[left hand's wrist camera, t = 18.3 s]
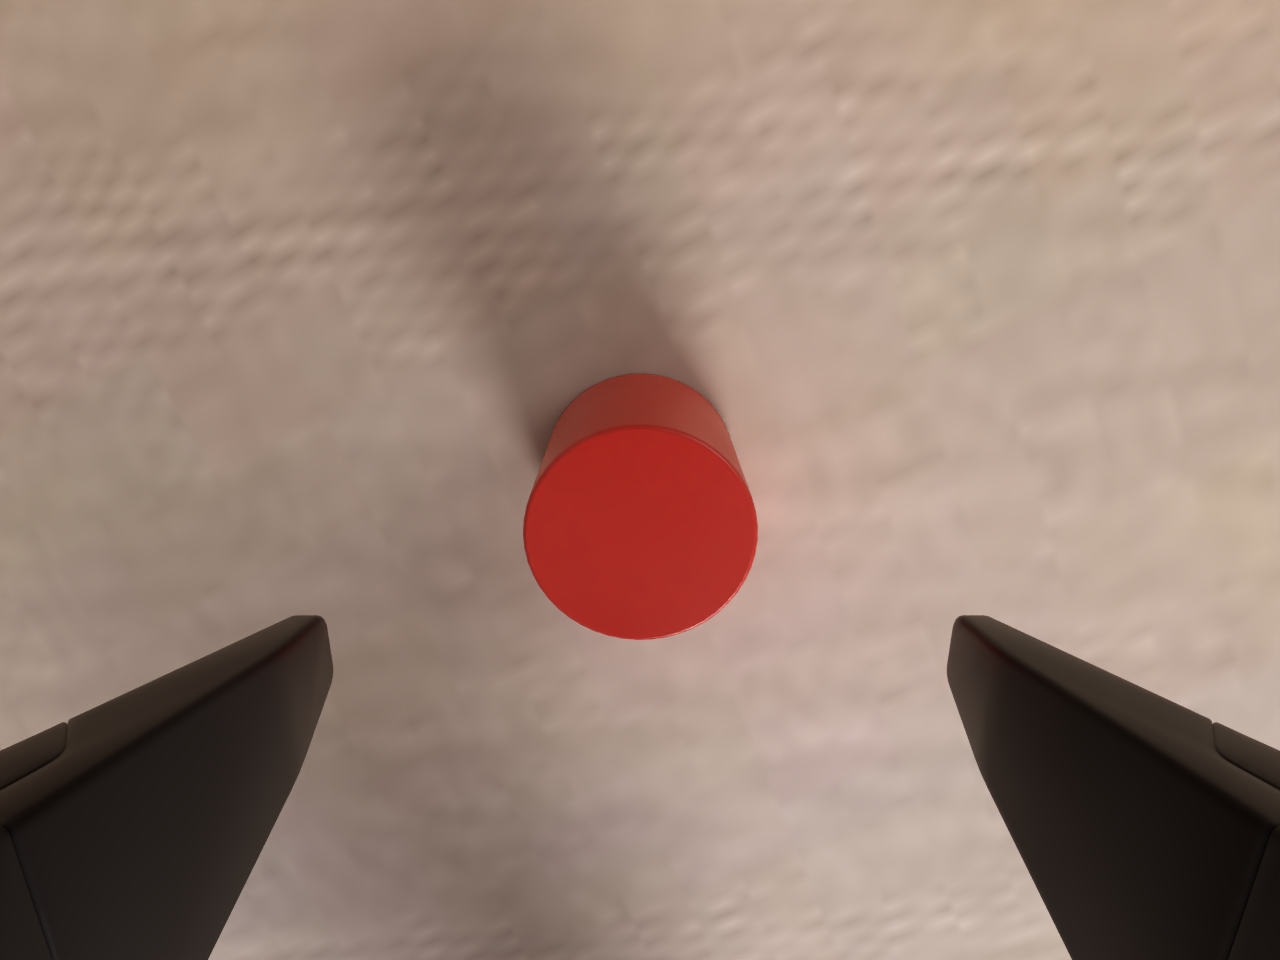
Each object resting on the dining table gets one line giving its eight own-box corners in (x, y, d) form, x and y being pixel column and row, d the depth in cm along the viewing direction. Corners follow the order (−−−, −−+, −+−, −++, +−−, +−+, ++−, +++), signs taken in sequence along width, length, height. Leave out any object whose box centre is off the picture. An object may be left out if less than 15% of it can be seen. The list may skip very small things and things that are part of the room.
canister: (749, 527, 20) (777, 615, 16) (574, 564, 20) (558, 661, 16) (712, 353, 18) (734, 400, 14) (525, 397, 19) (493, 455, 15)
